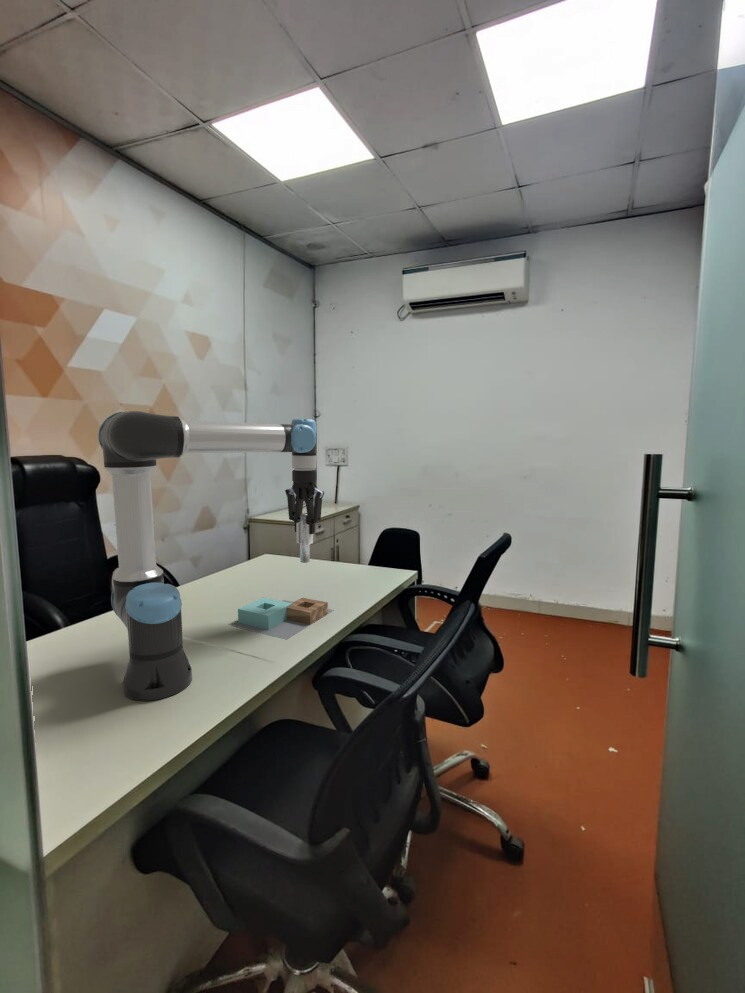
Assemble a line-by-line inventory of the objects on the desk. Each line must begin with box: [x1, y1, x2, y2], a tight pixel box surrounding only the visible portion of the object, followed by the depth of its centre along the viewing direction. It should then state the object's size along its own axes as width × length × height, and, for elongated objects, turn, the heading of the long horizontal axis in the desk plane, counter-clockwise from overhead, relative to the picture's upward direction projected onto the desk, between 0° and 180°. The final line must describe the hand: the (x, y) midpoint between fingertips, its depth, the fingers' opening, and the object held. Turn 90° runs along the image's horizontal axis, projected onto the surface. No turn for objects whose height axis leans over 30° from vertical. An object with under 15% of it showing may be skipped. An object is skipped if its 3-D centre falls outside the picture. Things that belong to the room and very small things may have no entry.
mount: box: [287, 597, 329, 626], centre depth 156 cm, size 10×10×4 cm
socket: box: [237, 597, 292, 630], centre depth 153 cm, size 12×12×4 cm
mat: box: [231, 599, 335, 640], centre depth 155 cm, size 26×21×1 cm
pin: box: [299, 513, 311, 564], centre depth 153 cm, size 3×3×15 cm
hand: (304, 543), depth 153 cm, fingers closed on pin, 3 cm apart
